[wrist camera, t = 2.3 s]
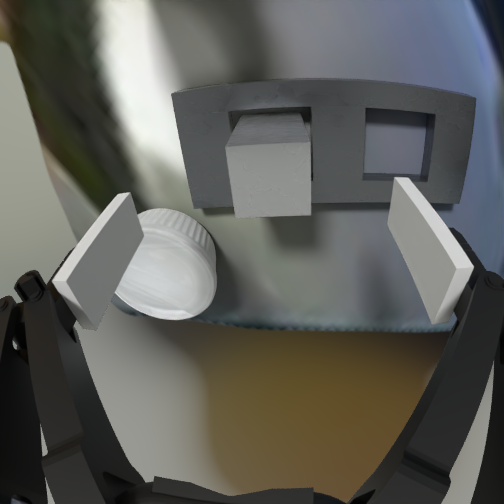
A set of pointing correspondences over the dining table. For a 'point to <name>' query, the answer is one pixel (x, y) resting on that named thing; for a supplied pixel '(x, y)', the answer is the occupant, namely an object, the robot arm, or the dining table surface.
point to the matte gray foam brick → (270, 166)
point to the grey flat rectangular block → (327, 135)
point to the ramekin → (170, 267)
